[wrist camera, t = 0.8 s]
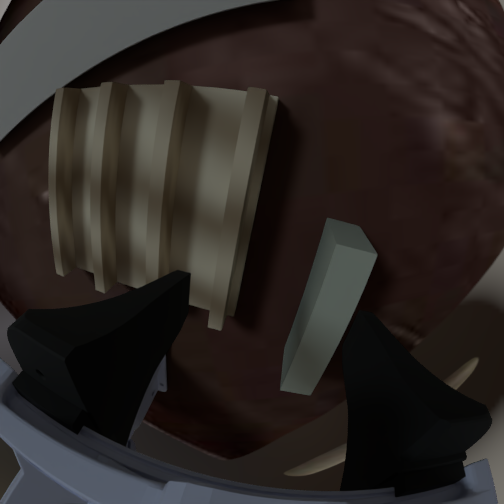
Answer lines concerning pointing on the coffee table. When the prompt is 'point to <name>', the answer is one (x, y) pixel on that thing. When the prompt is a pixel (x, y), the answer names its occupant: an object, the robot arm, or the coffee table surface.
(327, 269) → the clay strip
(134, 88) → the ribbed tan slab
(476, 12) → the coffee table surface
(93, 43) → the grey rectangular block
